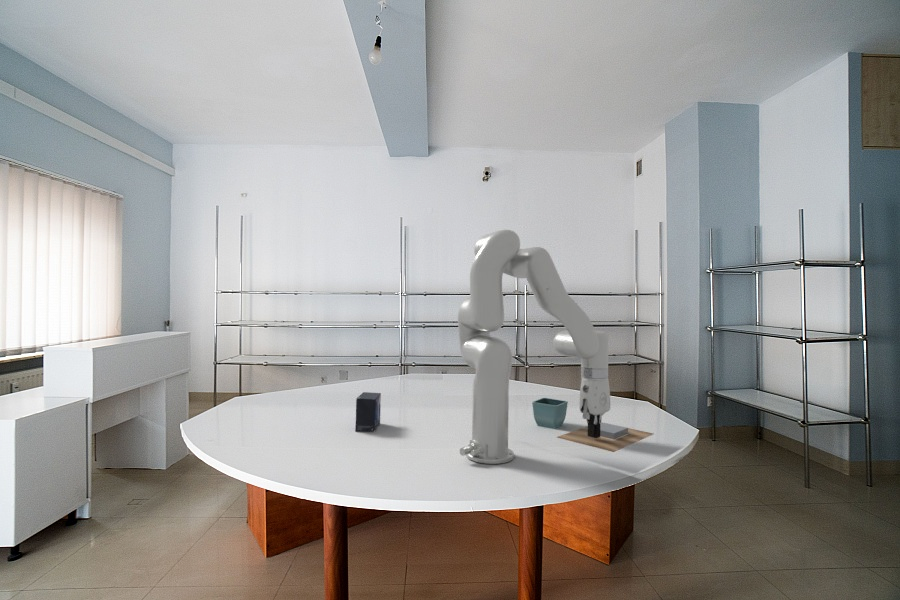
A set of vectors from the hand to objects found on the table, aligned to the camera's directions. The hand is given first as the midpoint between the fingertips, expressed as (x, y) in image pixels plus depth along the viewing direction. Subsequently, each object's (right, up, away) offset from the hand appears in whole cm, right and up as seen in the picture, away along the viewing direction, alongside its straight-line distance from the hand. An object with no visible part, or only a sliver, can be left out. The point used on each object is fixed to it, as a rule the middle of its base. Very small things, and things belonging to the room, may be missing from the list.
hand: (593, 436), depth 136 cm
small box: (-68, -2, +15) cm, 70 cm away
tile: (+3, 0, +3) cm, 4 cm away
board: (+5, -2, +5) cm, 8 cm away
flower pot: (-9, -2, +16) cm, 19 cm away
